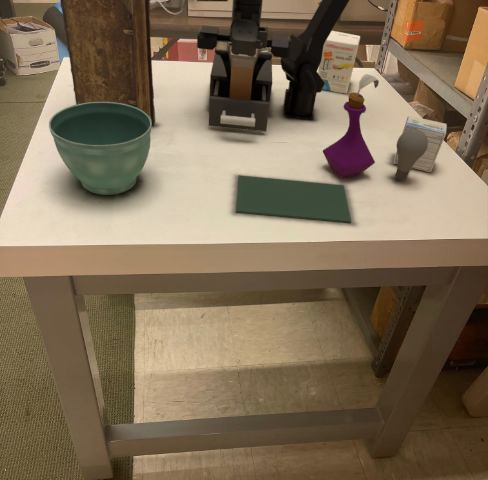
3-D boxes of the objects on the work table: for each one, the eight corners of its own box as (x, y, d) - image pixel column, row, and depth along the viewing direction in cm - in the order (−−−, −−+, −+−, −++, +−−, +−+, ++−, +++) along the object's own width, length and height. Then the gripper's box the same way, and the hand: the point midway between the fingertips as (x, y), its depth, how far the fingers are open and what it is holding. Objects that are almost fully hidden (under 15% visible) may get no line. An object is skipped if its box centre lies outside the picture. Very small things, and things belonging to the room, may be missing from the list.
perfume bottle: (340, 184, 94) (365, 86, 81) (318, 165, 99) (339, 70, 86) (371, 177, 97) (399, 82, 84) (348, 160, 101) (372, 66, 89)
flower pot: (52, 205, 81) (39, 142, 73) (69, 157, 92) (58, 98, 84) (152, 208, 83) (149, 147, 75) (156, 161, 94) (153, 103, 86)
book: (73, 114, 105) (50, -27, 87) (95, 103, 109) (78, -33, 91) (137, 137, 100) (127, -7, 82) (157, 125, 105) (152, -14, 87)
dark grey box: (268, 116, 113) (272, 81, 108) (209, 110, 112) (210, 75, 107) (267, 91, 123) (271, 58, 118) (213, 86, 123) (215, 52, 117)
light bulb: (414, 189, 95) (433, 139, 88) (385, 183, 96) (402, 134, 89) (413, 175, 99) (431, 127, 92) (386, 170, 100) (401, 121, 93)
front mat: (343, 187, 94) (343, 185, 93) (350, 223, 85) (351, 221, 85) (238, 177, 93) (238, 175, 92) (235, 212, 84) (236, 210, 84)
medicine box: (432, 164, 104) (447, 123, 97) (430, 173, 100) (446, 132, 94) (394, 155, 105) (408, 114, 99) (392, 164, 102) (405, 123, 96)
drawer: (266, 141, 102) (269, 113, 98) (206, 135, 102) (207, 106, 97) (266, 106, 115) (269, 80, 110) (212, 100, 114) (214, 74, 110)
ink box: (314, 88, 127) (323, 38, 119) (318, 77, 133) (327, 28, 125) (347, 94, 127) (359, 44, 118) (349, 82, 133) (360, 34, 124)
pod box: (249, 105, 111) (253, 60, 104) (248, 115, 108) (253, 68, 101) (229, 103, 111) (232, 58, 104) (228, 112, 108) (231, 66, 101)
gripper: (195, 7, 89) (193, 96, 100) (297, 18, 89) (284, 105, 101) (200, -8, 96) (198, 76, 108) (295, 2, 97) (283, 84, 108)
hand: (240, 85), depth 106 cm, fingers closed on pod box, 4 cm apart
